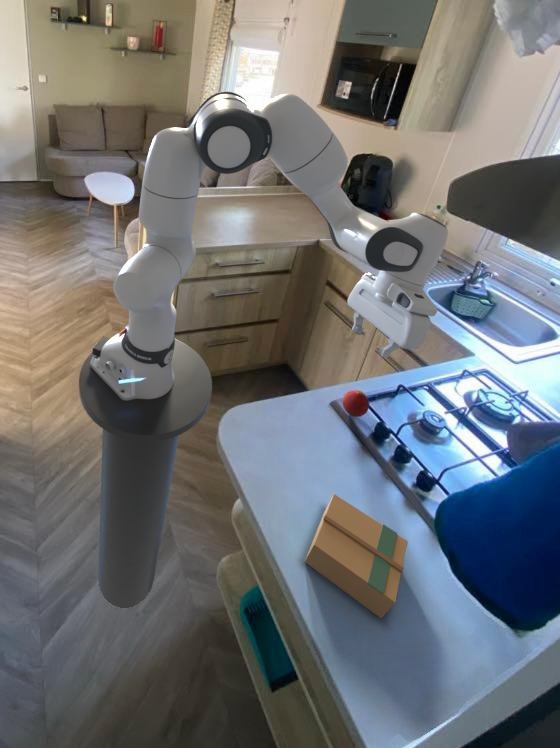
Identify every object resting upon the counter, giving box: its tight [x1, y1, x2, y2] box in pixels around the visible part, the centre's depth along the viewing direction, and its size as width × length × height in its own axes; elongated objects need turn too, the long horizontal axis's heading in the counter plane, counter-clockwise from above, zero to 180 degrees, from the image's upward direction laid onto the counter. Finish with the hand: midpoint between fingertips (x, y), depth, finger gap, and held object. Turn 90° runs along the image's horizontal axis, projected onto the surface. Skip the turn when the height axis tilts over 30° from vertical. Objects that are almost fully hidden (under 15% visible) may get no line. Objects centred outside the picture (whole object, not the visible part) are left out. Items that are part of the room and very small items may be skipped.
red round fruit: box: [341, 389, 370, 418], centre depth 101 cm, size 6×6×8 cm
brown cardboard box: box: [304, 493, 408, 619], centre depth 73 cm, size 13×11×6 cm
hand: (368, 343), depth 94 cm, fingers open, 8 cm apart
